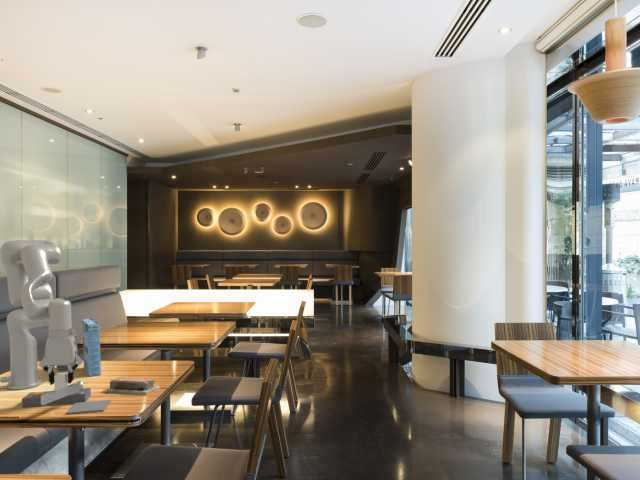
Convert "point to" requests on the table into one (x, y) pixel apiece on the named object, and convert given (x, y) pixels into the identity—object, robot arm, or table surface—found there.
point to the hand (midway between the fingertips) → (61, 382)
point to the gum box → (91, 347)
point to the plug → (61, 380)
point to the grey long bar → (61, 392)
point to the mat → (88, 407)
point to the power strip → (76, 397)
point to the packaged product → (132, 386)
